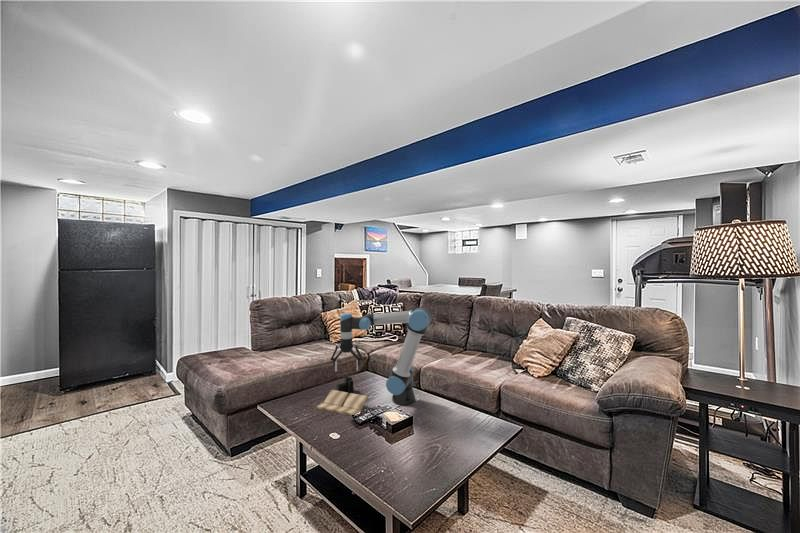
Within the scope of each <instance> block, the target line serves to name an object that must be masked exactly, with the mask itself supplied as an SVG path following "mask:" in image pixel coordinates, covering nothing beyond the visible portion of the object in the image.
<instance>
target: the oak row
mask: <svg viewBox="0 0 800 533" xmlns="http://www.w3.org/2000/svg"><path fill="white" fill-rule="evenodd" d="M316 409H317V410H322V411H326V412H330V413H331V412H332V413H336V414H340V415H346V416H351V417H353V416H352V415H354V414H357V413H359V412H361V411H363V409H362V410H359V409H354V408H349V407H344V406H343V405H342V406H338V405H333V404H328V403H324V401H322V402H321V403H320V404H319V403H318V405H316Z"/></svg>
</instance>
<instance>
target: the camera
mask: <svg viewBox="0 0 800 533" xmlns="http://www.w3.org/2000/svg"><path fill="white" fill-rule="evenodd" d="M335 388H336V390H337V391H342V392H348V393H349V394H350V393H353V394H354V381H353V377H352V376H349V375H344V377H343V380H342V382H341V383H337V384H336V387H335ZM349 394H348V395H349Z"/></svg>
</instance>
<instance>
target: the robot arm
mask: <svg viewBox="0 0 800 533" xmlns="http://www.w3.org/2000/svg"><path fill="white" fill-rule="evenodd" d="M433 317H434V316H433V312H432V310H430V309H429V308H428V307H425V306H421V307H417V308H412V309H411V310H404V311H403V310H402V311H393V312H392V311H391V312H381V313H367V314H365V315H363V316H360V317H356V316H353V314H352V313H348V312H347V313H346V312H345V313H342V314H340V317H339V318H340V320H339V323H340V324H339V326H340V331H339V332H340V333H339V334H340V335H339V336H340V337H339V338H340V345H339V344H338V345H337V344H336V345H335V349H334V352H333V354H332V356H331V358H330V361H333V362H332V363H333V367H334V372H335V373H336V372H337V371H338V358H339V356H340V355H341V354H342V353H344V354H345V353H351V355H353V357H354V358H355V359H356V372H359V366H360V365H361V364H360V363H361V360H363V356H362V354H361V351H360V350H359V348H358V344H355V345H353V330H360V331H365V330H367V331H368V330H369V329H370V328H371V326H381V325H383V326H385V325H395V324H407V326H406V330H407V333H406V336H405V339H404V342H403V345H402V347H401V351H400V354H399V357H398V359H397V363H396V365H395V366H393V367H392V370H391V373H390V375H389V377H388V378H387V380H386V381H385V382H386V383H385V387H386V389H387V391H388V392H389V393H390V394H392V396H391V401H392V403H394V404H396V405H398V406H399V405H400V406H409V405H413V404H414V403H415V402H416V394H415V391H414V388H413V387H414V384H413V383H414V382H413V381H414V367H413V366H412V364H413V362H414V358H415V356H416V352H417V350H418V347H419V345H420V342H421V339H422V336H425V334H426V332H427V329H428V327H429V325H430V324H431V323H432V321H433ZM339 349H340V351H339V352H338V353H337V351H338V350H339ZM354 350H355V351H356V353H355V351H354ZM336 353H337V354H336Z"/></svg>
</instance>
